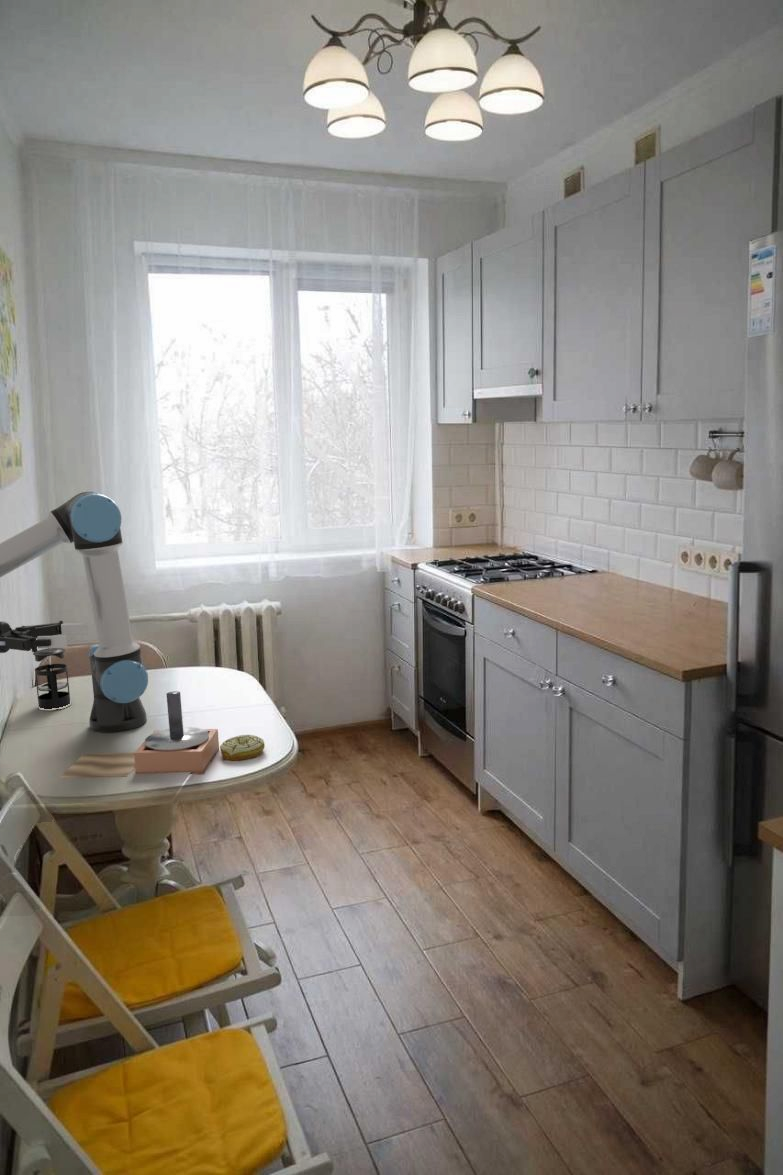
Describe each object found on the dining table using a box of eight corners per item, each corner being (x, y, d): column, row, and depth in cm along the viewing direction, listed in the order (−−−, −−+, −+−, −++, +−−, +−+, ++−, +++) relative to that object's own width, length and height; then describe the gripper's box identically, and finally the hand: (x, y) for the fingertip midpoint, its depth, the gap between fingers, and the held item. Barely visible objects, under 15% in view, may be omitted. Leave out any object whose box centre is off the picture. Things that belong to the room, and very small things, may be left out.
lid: (155, 730, 222) (151, 685, 220) (215, 729, 222) (211, 683, 220) (136, 752, 207) (132, 703, 205) (200, 750, 207) (196, 701, 205)
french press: (73, 708, 264) (66, 632, 260) (40, 713, 260) (31, 636, 256) (68, 698, 274) (61, 625, 270) (36, 703, 270) (28, 629, 266)
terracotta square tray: (156, 751, 224) (154, 730, 223) (219, 749, 223) (217, 728, 222) (135, 775, 208) (133, 752, 207) (203, 773, 207) (201, 751, 206)
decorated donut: (214, 753, 221) (213, 738, 221) (254, 744, 227) (253, 730, 226) (230, 765, 213) (229, 750, 212) (271, 755, 218) (270, 740, 218)
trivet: (84, 755, 222) (84, 753, 222) (147, 754, 222) (147, 752, 222) (58, 780, 207) (58, 777, 207) (126, 778, 206) (126, 776, 206)
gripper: (15, 640, 226) (97, 638, 225) (-35, 666, 201) (57, 663, 200) (12, 611, 225) (95, 609, 224) (-39, 633, 200) (54, 630, 199)
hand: (77, 634), depth 212 cm, fingers open, 13 cm apart
